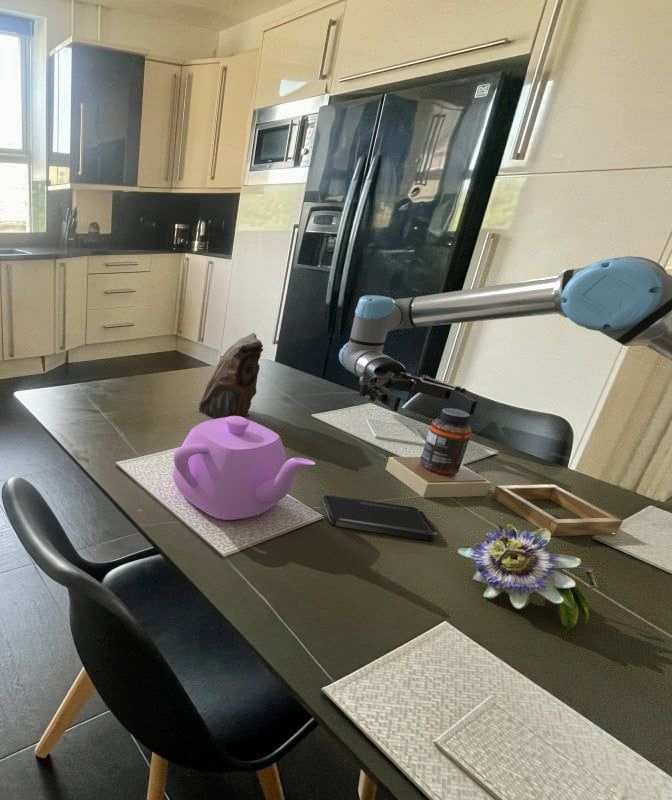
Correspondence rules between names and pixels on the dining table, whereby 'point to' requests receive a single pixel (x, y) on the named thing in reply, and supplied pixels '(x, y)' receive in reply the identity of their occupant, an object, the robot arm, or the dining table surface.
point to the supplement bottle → (446, 442)
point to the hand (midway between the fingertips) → (435, 406)
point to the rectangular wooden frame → (592, 516)
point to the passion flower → (528, 571)
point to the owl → (233, 380)
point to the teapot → (234, 468)
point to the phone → (378, 517)
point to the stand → (437, 479)
